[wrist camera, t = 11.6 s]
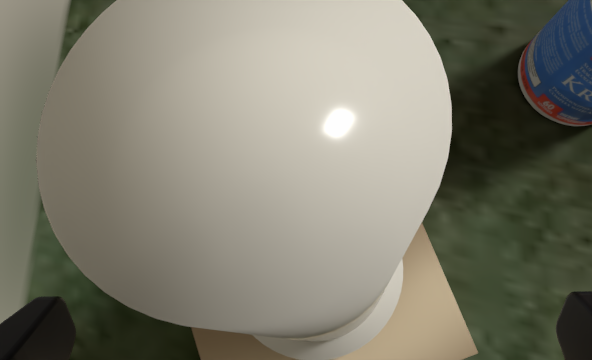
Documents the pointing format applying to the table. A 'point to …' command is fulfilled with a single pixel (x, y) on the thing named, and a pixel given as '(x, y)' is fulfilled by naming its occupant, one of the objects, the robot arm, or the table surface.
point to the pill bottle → (561, 66)
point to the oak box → (395, 334)
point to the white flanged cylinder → (248, 162)
